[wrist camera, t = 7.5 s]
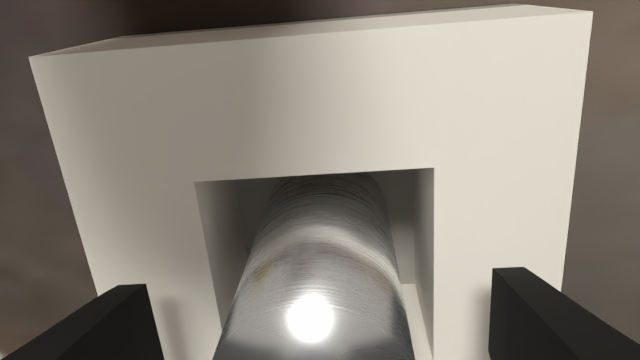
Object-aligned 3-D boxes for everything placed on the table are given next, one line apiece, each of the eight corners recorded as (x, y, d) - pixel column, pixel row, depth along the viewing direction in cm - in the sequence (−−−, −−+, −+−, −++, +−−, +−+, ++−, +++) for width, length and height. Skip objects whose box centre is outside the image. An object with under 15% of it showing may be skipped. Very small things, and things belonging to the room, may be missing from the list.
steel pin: (388, 263, 15) (421, 471, 9) (274, 269, 16) (224, 474, 9) (385, 155, 14) (419, 304, 7) (260, 162, 14) (189, 312, 8)
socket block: (494, 333, 17) (543, 444, 13) (190, 344, 18) (144, 452, 14) (514, 3, 13) (593, 11, 9) (122, 36, 14) (28, 57, 10)
